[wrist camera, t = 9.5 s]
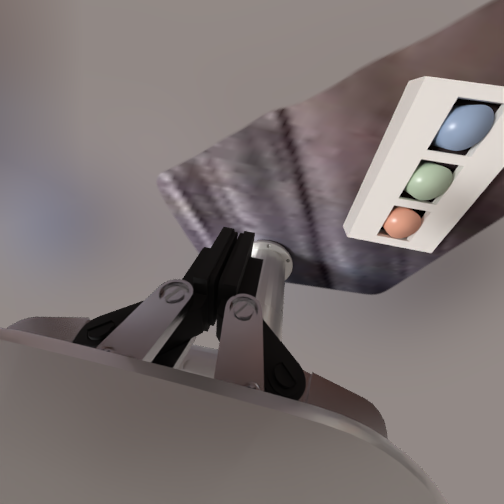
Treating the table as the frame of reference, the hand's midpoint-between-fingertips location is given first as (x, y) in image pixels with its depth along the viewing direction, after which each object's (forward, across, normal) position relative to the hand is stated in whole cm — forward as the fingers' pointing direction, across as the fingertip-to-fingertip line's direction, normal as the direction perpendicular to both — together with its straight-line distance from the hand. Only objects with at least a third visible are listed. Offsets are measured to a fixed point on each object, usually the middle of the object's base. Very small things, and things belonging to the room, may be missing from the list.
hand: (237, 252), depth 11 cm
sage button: (+27, -22, -1) cm, 34 cm away
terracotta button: (+27, -22, +5) cm, 35 cm away
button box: (+27, -22, -1) cm, 35 cm away
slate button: (+27, -22, -8) cm, 35 cm away
